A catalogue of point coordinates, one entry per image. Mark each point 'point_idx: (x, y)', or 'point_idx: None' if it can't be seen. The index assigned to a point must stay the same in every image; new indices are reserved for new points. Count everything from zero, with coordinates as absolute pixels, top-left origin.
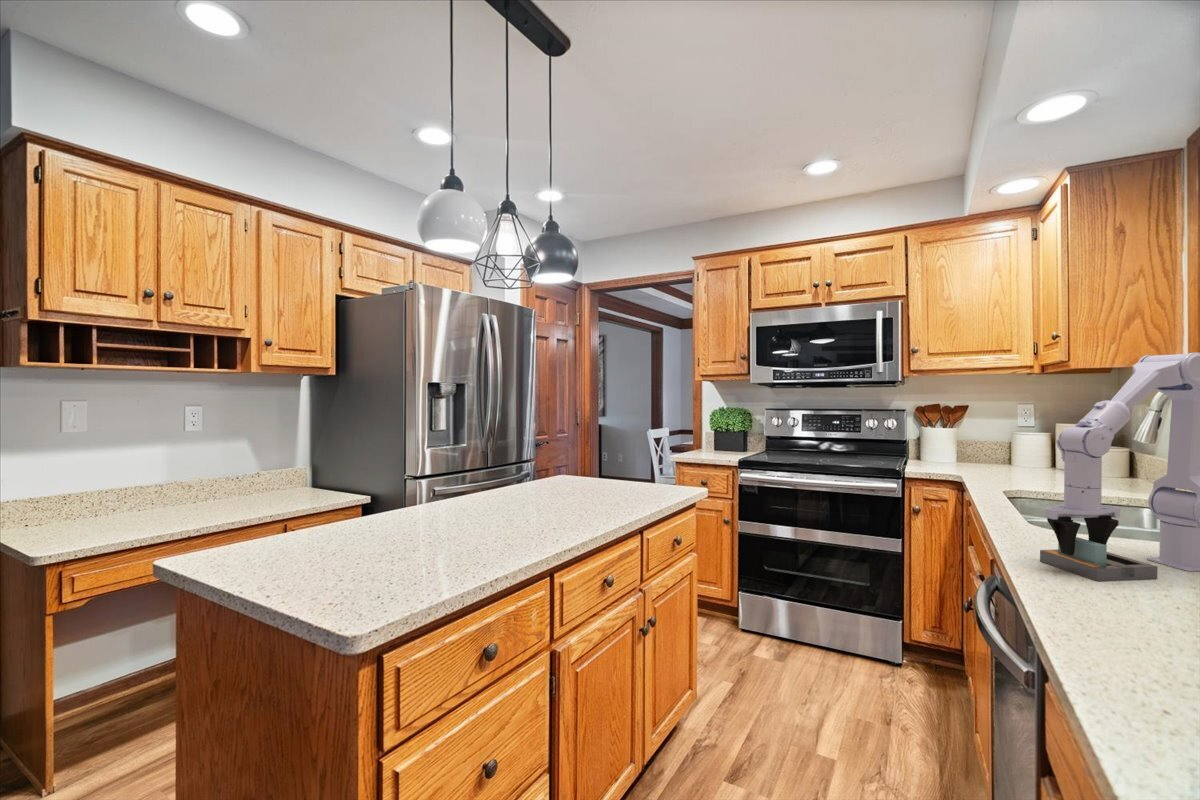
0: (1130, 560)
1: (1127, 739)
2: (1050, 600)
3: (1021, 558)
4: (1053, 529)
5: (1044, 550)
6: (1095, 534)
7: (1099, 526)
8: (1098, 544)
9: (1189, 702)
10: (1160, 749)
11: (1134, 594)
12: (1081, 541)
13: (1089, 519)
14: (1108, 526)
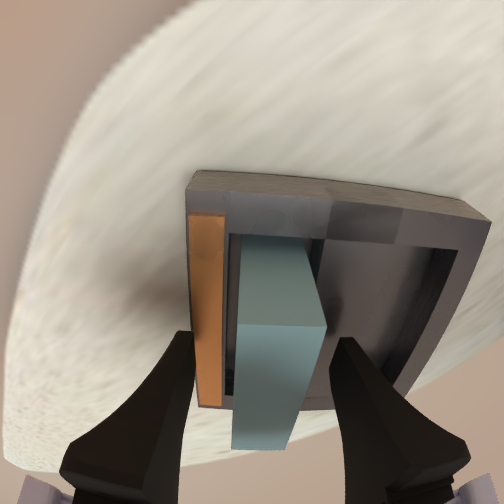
0: (408, 365)
1: (15, 459)
2: (33, 391)
3: (161, 97)
4: (115, 413)
5: (189, 216)
6: (357, 425)
7: (359, 476)
8: (266, 443)
9: (57, 472)
10: (24, 465)
11: (214, 421)
12: (239, 417)
13: (390, 478)
14: (345, 500)
